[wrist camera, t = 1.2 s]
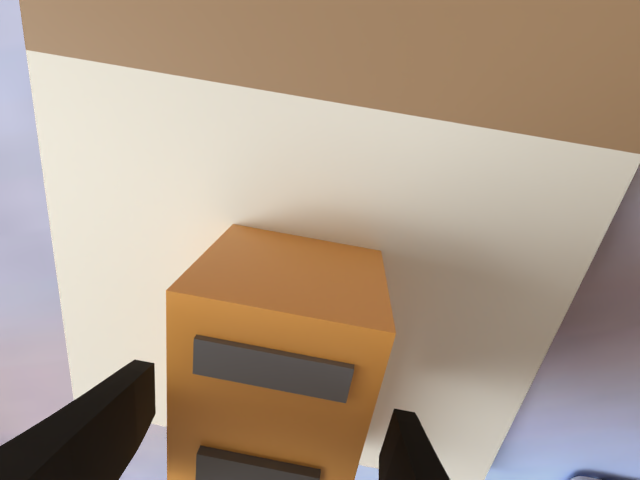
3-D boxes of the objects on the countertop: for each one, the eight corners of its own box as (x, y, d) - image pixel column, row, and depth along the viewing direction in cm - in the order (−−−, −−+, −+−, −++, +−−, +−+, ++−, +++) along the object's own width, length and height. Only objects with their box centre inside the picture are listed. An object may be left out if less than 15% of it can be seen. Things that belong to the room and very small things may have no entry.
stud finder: (381, 250, 12) (397, 340, 7) (334, 442, 15) (326, 585, 11) (232, 224, 12) (160, 296, 7) (219, 420, 15) (163, 551, 11)
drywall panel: (810, -262, 8) (873, -313, 7) (472, 466, 16) (479, 488, 15) (5, -372, 8) (-40, -433, 7) (90, 391, 17) (74, 408, 16)
